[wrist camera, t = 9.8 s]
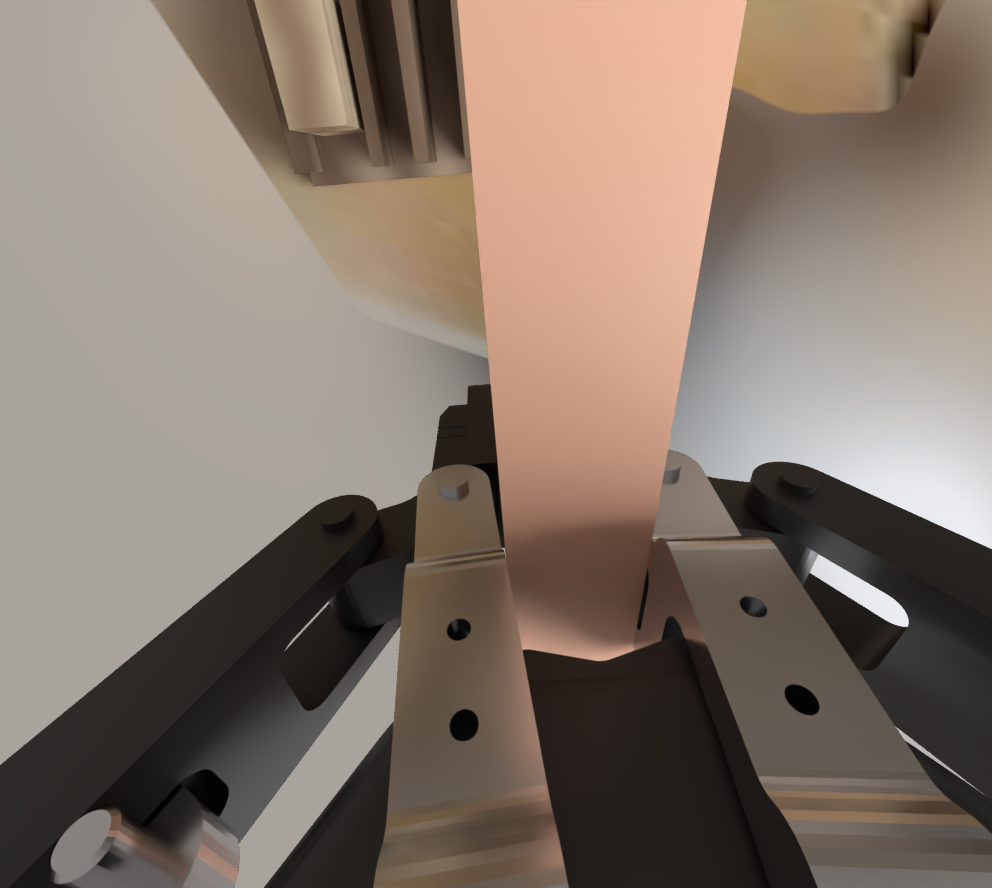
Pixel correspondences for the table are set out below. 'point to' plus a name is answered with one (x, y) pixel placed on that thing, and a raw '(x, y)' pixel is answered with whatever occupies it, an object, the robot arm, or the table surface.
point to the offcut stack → (312, 65)
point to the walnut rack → (391, 96)
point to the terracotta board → (589, 280)
